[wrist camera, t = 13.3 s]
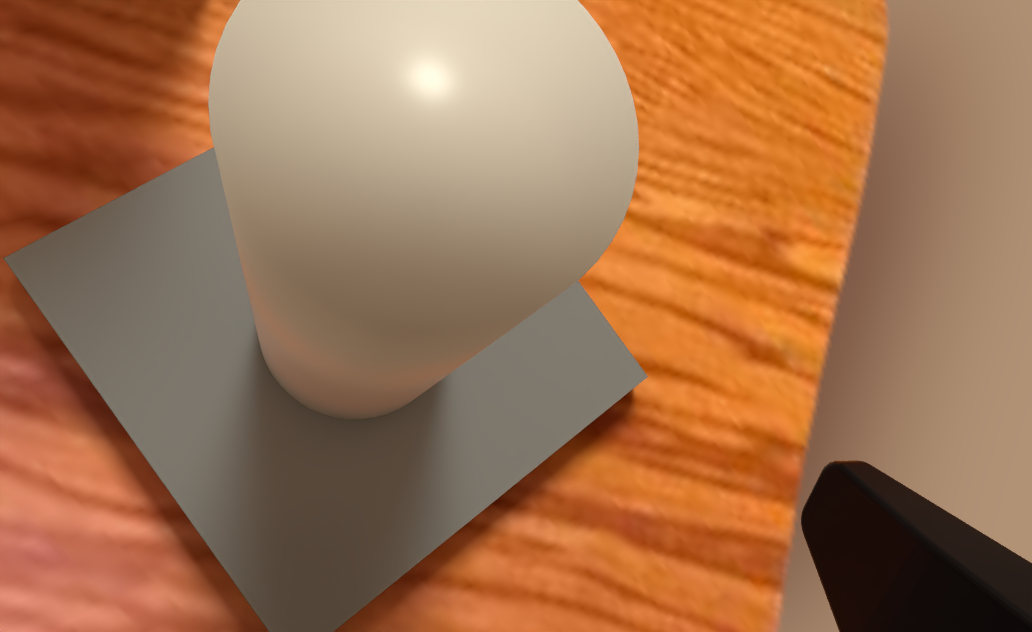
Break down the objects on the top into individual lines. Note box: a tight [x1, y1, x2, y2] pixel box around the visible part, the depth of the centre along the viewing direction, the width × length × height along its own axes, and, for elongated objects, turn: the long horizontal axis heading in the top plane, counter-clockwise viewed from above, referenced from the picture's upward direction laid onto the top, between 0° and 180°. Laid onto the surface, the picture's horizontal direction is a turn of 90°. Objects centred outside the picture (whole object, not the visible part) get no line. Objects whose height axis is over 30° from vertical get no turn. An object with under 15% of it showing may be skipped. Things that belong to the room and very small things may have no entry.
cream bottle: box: [208, 0, 639, 419], centre depth 15 cm, size 5×5×12 cm
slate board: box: [3, 148, 648, 632], centre depth 21 cm, size 12×12×1 cm
